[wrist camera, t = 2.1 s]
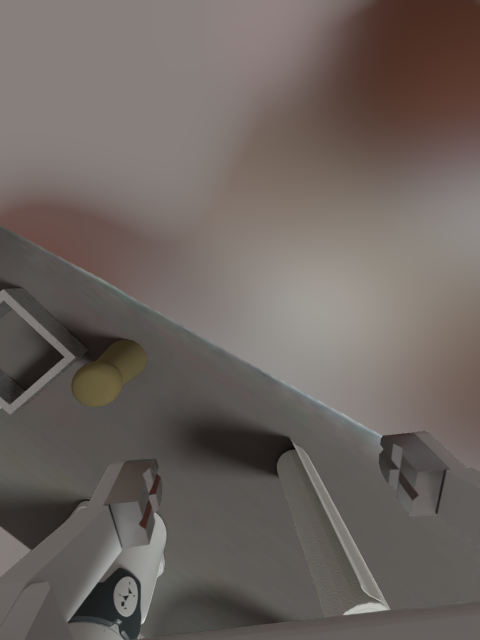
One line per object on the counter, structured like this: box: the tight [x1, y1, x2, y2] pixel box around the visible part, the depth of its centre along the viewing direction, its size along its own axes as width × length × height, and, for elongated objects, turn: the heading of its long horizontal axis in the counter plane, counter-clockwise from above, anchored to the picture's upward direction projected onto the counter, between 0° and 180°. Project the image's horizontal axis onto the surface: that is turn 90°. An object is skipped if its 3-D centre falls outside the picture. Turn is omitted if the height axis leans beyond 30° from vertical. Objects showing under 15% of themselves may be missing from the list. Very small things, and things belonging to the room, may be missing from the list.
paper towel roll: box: [277, 438, 390, 617], centre depth 33 cm, size 7×6×21 cm
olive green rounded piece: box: [71, 339, 147, 407], centre depth 33 cm, size 6×6×11 cm
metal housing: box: [0, 288, 88, 415], centre depth 35 cm, size 12×12×4 cm
